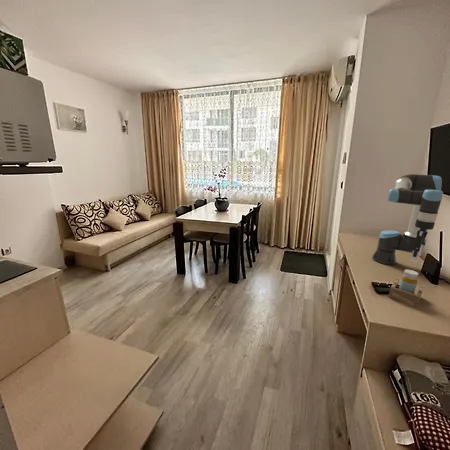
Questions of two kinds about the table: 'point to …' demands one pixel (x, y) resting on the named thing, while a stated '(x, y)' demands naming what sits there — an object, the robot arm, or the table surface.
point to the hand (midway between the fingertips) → (415, 258)
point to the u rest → (404, 295)
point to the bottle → (409, 281)
